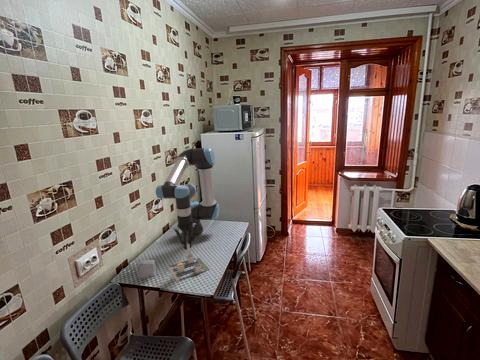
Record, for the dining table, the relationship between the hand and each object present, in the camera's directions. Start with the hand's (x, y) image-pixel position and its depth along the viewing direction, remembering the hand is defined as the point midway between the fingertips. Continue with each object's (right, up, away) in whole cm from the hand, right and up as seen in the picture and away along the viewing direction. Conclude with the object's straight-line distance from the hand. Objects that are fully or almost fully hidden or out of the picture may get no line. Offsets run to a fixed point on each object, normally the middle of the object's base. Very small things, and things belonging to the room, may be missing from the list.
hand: (188, 253), depth 145 cm
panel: (+1, -10, +2) cm, 10 cm away
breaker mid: (-4, -10, -1) cm, 10 cm away
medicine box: (-22, -12, -2) cm, 25 cm away
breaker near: (+6, -9, -2) cm, 11 cm away
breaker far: (0, -7, +8) cm, 11 cm away
